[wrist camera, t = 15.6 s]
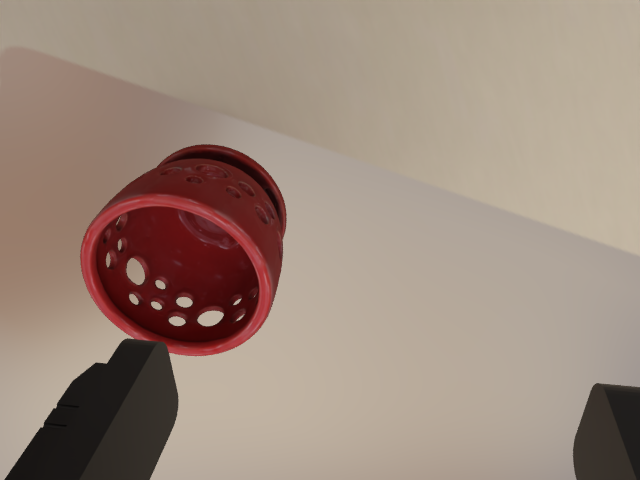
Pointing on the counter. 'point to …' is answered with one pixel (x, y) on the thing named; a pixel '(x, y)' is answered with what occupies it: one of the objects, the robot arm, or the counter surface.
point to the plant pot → (190, 250)
